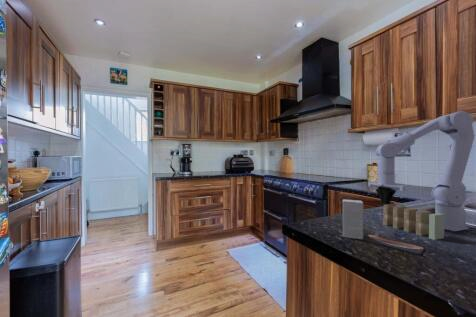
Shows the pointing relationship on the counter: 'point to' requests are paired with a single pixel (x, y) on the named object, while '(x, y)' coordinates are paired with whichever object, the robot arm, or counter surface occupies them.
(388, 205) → the domino
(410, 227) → the domino
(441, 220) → the domino
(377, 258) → the counter surface
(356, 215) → the skincare box
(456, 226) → the robot arm
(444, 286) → the counter surface
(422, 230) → the domino
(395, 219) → the domino
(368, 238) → the brown flat slab
